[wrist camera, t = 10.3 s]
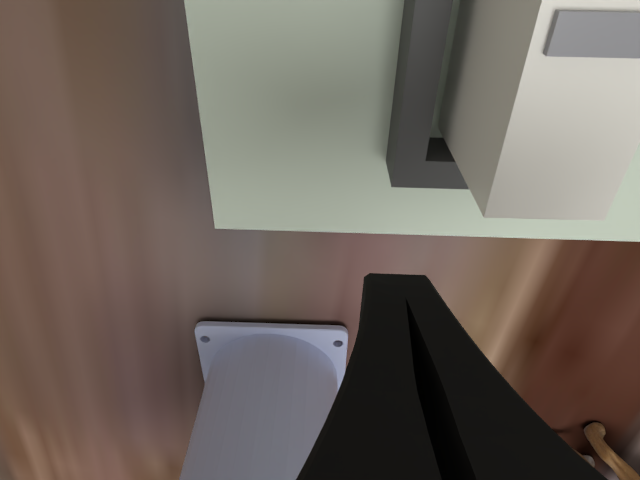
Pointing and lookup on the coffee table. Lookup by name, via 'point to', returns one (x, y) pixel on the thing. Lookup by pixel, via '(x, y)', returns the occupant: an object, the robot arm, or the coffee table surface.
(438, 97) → the board
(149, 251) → the coffee table surface
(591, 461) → the lion figurine
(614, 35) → the plug
